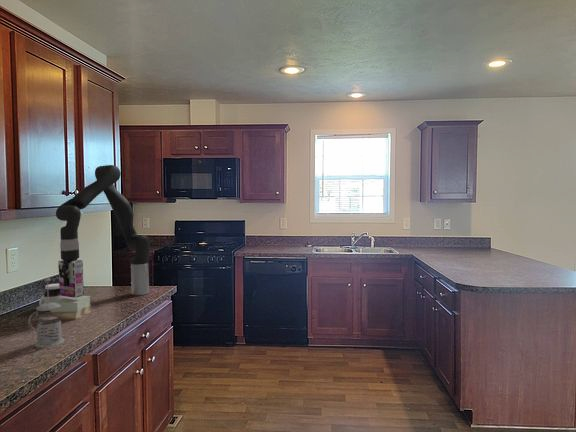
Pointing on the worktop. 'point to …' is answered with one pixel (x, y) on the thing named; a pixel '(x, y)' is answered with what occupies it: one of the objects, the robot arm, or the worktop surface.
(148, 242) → the robot arm
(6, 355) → the worktop surface
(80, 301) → the sage block
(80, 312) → the maple block
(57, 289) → the spread jar
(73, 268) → the candy bar box
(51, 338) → the french press
